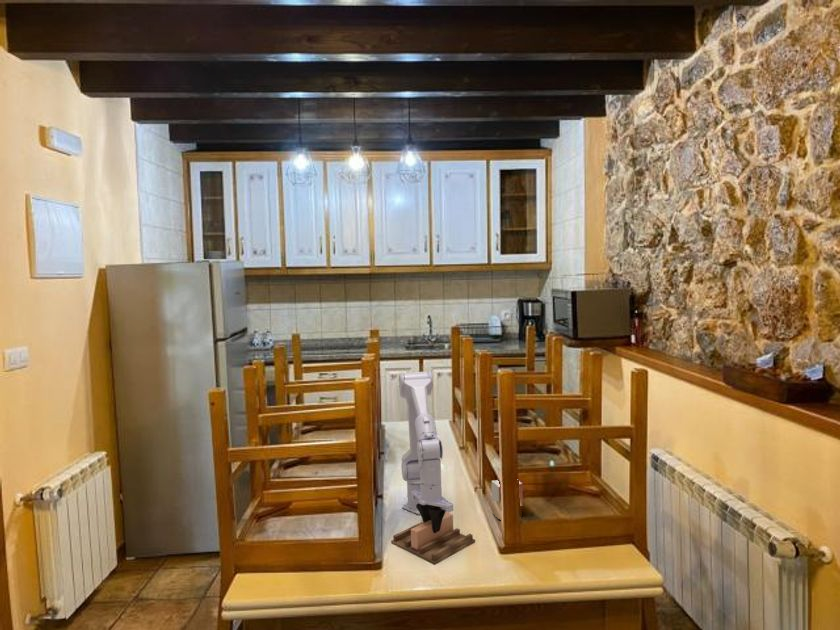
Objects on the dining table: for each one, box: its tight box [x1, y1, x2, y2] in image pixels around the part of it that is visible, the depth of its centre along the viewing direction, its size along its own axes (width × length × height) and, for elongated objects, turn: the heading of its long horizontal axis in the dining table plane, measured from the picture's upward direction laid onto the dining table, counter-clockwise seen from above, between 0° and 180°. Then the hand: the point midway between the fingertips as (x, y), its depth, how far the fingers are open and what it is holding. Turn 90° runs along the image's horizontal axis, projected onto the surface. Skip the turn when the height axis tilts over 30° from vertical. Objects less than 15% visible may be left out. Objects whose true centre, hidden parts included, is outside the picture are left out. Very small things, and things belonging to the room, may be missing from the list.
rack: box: [390, 521, 476, 566], centre depth 157 cm, size 16×17×2 cm
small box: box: [491, 479, 524, 507], centre depth 171 cm, size 8×6×10 cm
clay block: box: [411, 512, 454, 550], centre depth 156 cm, size 14×2×5 cm, turn 134°
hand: (432, 529), depth 156 cm, fingers closed on clay block, 2 cm apart
